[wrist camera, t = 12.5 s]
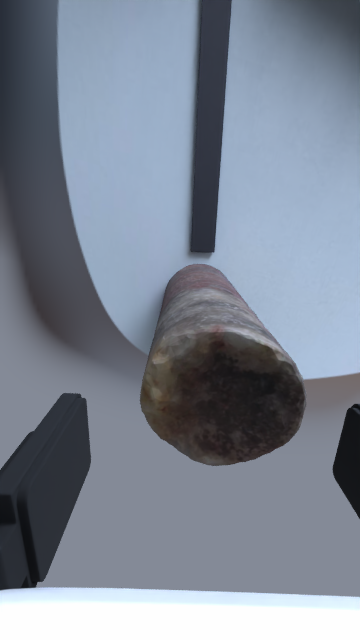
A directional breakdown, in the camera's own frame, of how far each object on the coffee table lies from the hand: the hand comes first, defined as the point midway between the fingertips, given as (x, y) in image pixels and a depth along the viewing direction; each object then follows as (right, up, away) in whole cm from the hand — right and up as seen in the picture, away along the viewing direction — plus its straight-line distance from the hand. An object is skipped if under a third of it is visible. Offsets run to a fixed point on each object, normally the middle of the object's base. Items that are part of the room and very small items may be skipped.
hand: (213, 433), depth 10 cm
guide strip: (+2, +24, +15) cm, 28 cm away
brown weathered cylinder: (+1, +6, +21) cm, 22 cm away
